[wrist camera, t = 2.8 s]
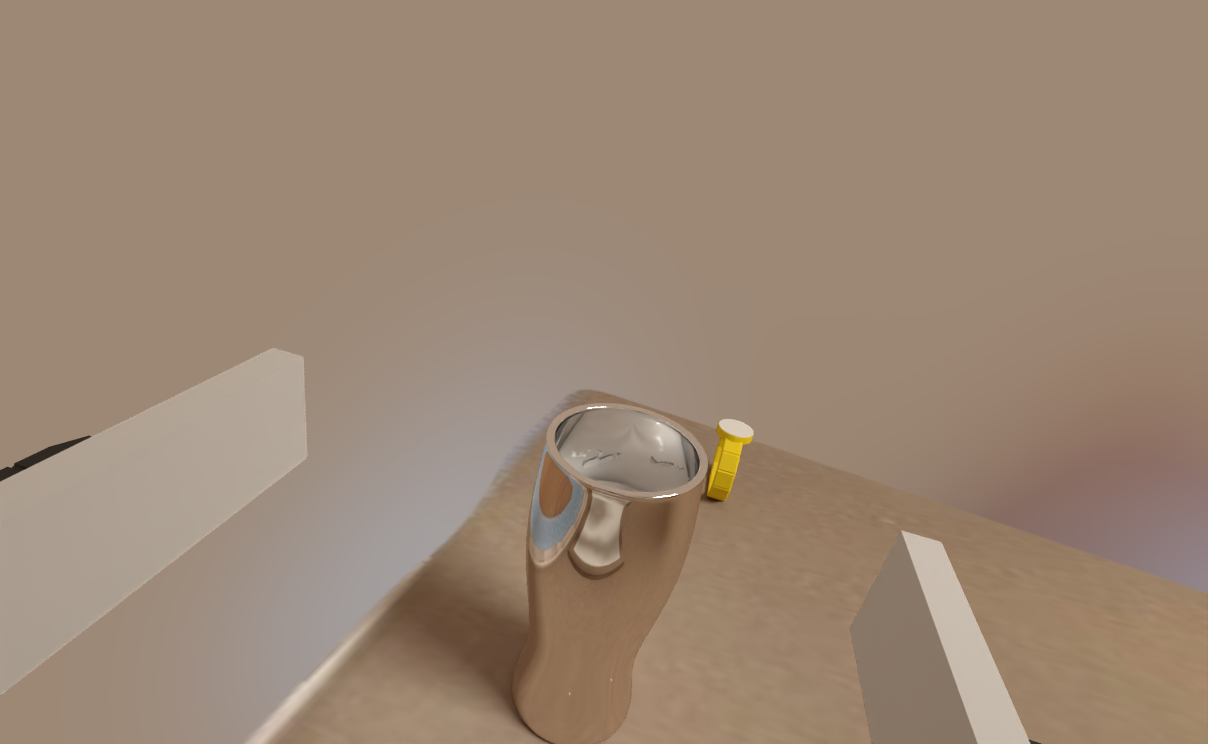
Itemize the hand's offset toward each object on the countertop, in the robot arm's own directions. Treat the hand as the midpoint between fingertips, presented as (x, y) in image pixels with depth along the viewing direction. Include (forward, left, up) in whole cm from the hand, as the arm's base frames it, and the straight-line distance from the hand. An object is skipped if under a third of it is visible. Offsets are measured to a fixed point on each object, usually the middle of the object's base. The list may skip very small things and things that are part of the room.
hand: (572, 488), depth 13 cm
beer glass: (-5, -8, -20) cm, 22 cm away
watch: (-21, -23, -20) cm, 37 cm away
